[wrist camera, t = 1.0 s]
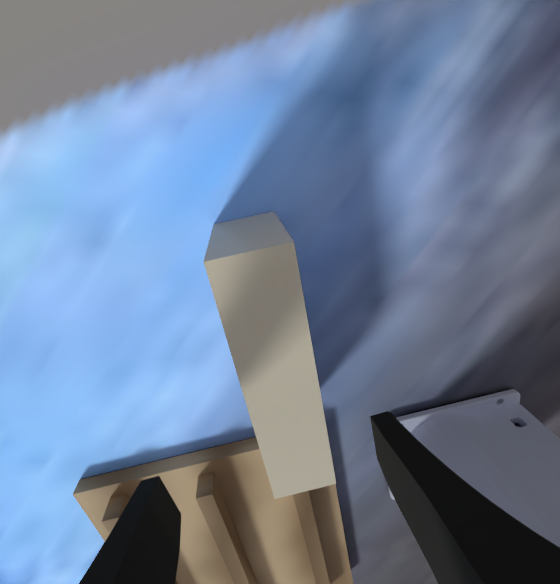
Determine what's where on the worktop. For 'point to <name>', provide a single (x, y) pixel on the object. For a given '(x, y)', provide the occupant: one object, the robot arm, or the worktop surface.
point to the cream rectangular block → (271, 348)
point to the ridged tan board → (233, 519)
